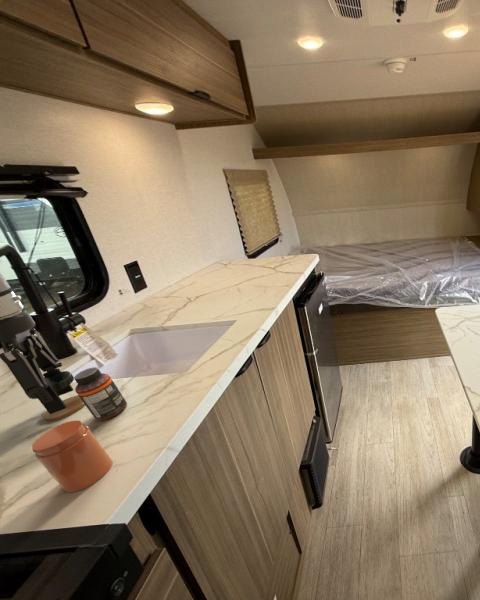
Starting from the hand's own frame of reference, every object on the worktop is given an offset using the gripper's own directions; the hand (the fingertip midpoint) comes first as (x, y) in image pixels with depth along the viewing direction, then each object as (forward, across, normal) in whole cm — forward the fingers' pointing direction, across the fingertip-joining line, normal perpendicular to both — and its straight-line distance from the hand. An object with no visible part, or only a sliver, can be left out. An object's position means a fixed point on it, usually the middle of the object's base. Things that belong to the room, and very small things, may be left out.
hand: (62, 401), depth 75 cm
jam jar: (+2, -30, -8) cm, 31 cm away
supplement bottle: (+3, -10, -9) cm, 14 cm away
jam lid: (-5, 0, 0) cm, 5 cm away
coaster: (+2, 0, 0) cm, 2 cm away
